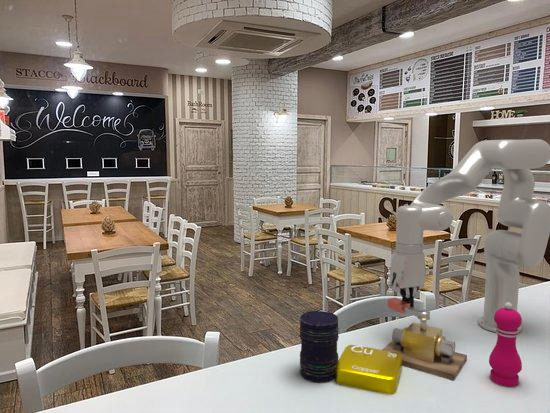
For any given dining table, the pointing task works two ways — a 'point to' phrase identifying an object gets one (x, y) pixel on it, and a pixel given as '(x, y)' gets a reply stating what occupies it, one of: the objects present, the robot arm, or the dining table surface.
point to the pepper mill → (506, 347)
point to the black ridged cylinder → (318, 346)
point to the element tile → (369, 369)
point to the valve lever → (407, 308)
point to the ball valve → (423, 342)
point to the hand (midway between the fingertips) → (407, 309)
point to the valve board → (433, 368)
